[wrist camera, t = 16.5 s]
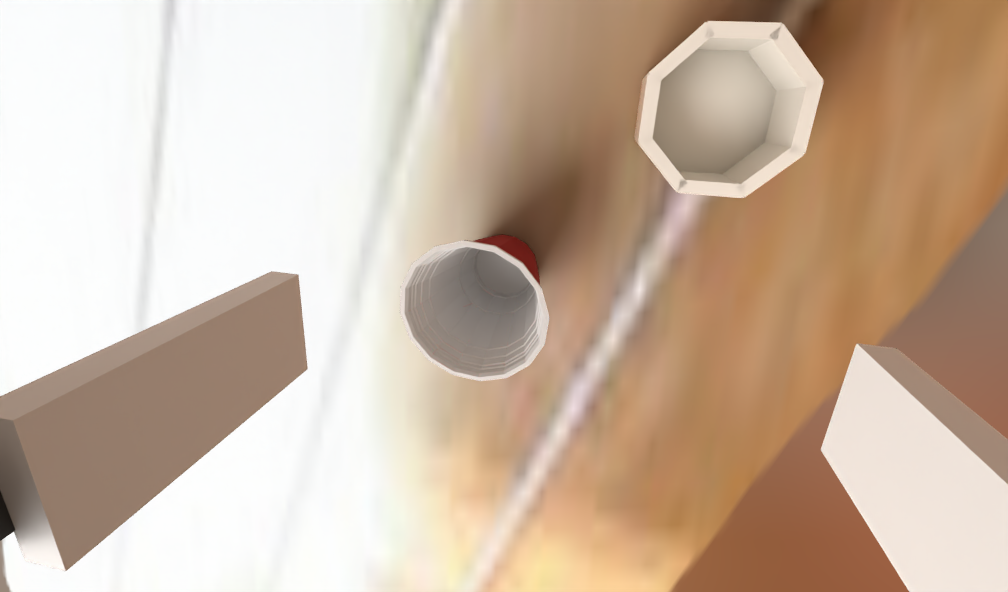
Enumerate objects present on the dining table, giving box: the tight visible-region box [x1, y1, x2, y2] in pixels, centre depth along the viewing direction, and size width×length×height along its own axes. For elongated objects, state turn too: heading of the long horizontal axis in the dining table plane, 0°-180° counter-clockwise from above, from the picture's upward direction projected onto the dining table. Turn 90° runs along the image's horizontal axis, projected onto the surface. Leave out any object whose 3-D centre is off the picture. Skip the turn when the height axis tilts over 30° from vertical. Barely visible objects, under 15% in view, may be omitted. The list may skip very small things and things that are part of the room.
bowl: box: [634, 21, 824, 198], centre depth 35 cm, size 10×10×6 cm
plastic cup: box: [400, 235, 549, 381], centre depth 40 cm, size 11×11×12 cm
